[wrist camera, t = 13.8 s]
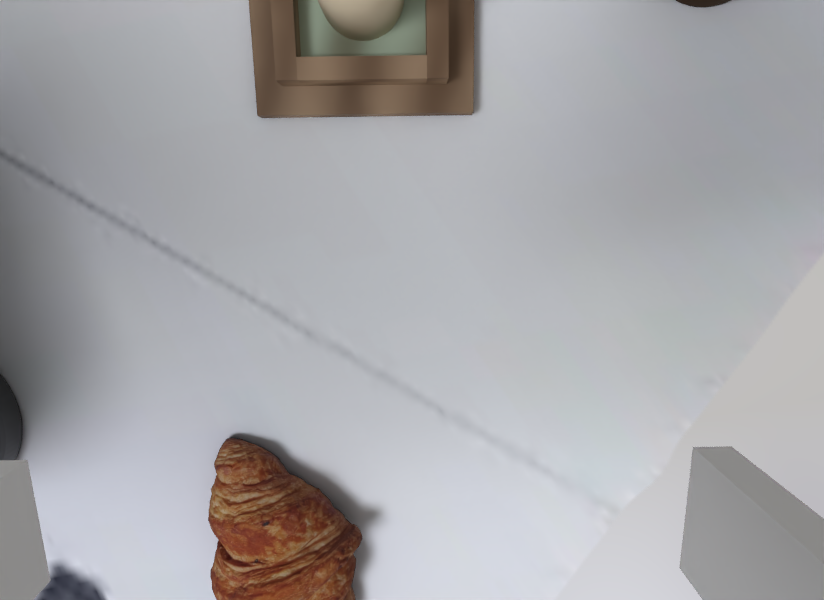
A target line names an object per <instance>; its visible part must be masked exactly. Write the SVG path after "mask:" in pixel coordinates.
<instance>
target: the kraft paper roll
mask: <svg viewBox="0 0 824 600" xmlns="http://www.w3.org/2000/svg"><path fill="white" fill-rule="evenodd" d="M318 2H319V4H320V7H321V9H322V11H323V13H324V15H325V18H326V19H327V21H328V22H329V24H330V25H331V26H332V27H333V28H334V29H335V30H336V31H337V32H338V33H340V34H341V35H343V36H345V37H347V38H349V39H352V40H356V41H370V40H374V39H377V38H379V37H381V36H383V35H385V34H386V33H387V32H389V31H390V30H391V29H392V28H393V26H394V25H395V24H396V22H397V21H398V19H399V17H400V15H401V13H402V9H403V5H404V0H318Z"/></svg>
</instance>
